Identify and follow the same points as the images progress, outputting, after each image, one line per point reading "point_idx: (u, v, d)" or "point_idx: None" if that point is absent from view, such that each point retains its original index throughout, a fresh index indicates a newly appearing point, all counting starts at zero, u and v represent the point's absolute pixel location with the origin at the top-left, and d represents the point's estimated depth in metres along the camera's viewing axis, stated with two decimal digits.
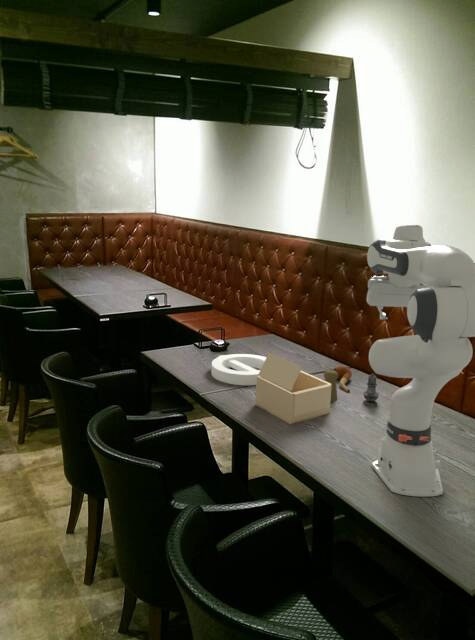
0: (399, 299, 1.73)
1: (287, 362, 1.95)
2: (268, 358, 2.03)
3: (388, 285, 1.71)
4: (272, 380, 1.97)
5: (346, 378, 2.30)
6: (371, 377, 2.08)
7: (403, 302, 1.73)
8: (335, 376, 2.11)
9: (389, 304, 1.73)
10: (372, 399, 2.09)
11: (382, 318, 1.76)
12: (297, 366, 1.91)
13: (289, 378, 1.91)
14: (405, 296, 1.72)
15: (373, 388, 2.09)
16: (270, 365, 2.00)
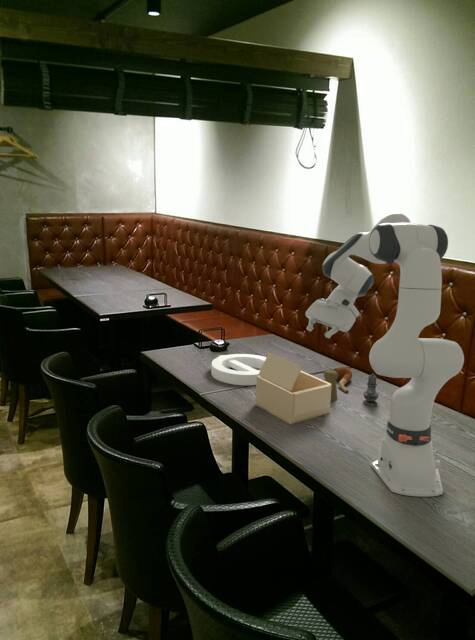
0: (324, 314, 2.03)
1: (287, 362, 1.95)
2: (268, 358, 2.03)
3: (324, 303, 2.07)
4: (272, 380, 1.97)
5: (346, 379, 2.29)
6: (371, 377, 2.08)
7: (326, 317, 2.02)
8: (335, 376, 2.11)
9: (316, 316, 2.05)
10: (372, 399, 2.09)
11: (307, 327, 2.05)
12: (297, 366, 1.91)
13: (289, 378, 1.91)
14: (329, 313, 2.02)
15: (373, 388, 2.09)
16: (270, 365, 2.00)
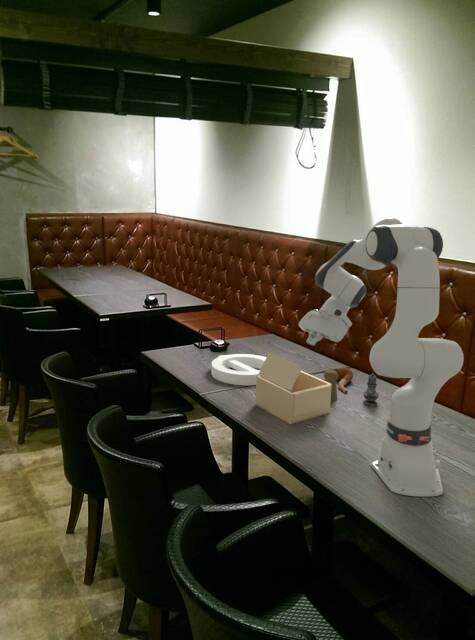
0: (317, 324, 2.03)
1: (287, 362, 1.95)
2: (268, 358, 2.03)
3: (317, 313, 2.07)
4: (272, 380, 1.97)
5: (346, 379, 2.28)
6: (371, 377, 2.08)
7: (318, 327, 2.02)
8: (335, 376, 2.11)
9: (309, 326, 2.05)
10: (372, 399, 2.09)
11: (307, 340, 2.02)
12: (297, 366, 1.91)
13: (289, 378, 1.91)
14: (322, 324, 2.02)
15: (373, 388, 2.09)
16: (270, 365, 2.00)
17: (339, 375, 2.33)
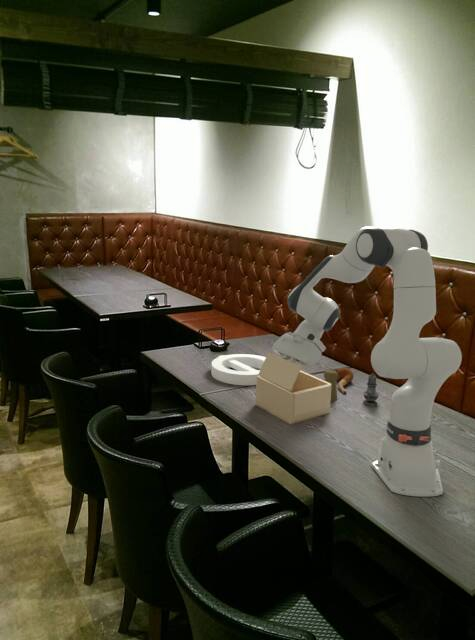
0: (290, 348, 1.98)
1: (287, 362, 1.95)
2: (267, 357, 2.03)
3: (291, 337, 2.02)
4: (272, 380, 1.97)
5: (346, 380, 2.28)
6: (371, 377, 2.08)
7: (291, 352, 1.97)
8: (335, 376, 2.11)
9: (282, 350, 2.00)
10: (372, 399, 2.09)
11: None
12: (296, 366, 1.91)
13: (289, 378, 1.91)
14: (295, 348, 1.97)
15: (373, 388, 2.09)
16: (270, 364, 2.00)
17: (339, 375, 2.32)
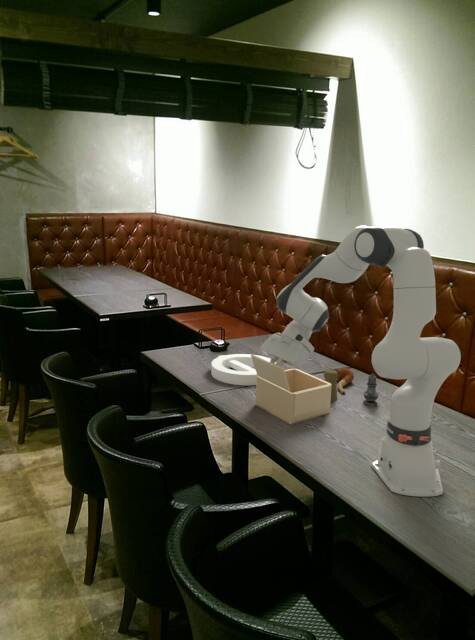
0: (278, 349, 1.95)
1: (270, 365, 1.91)
2: (253, 360, 1.99)
3: (279, 337, 1.99)
4: (271, 381, 1.96)
5: (345, 380, 2.27)
6: (371, 377, 2.08)
7: (279, 352, 1.94)
8: (335, 376, 2.11)
9: (271, 351, 1.97)
10: (372, 399, 2.09)
11: None
12: (279, 369, 1.86)
13: (281, 380, 1.89)
14: (283, 349, 1.94)
15: (373, 388, 2.09)
16: (260, 367, 1.98)
17: (339, 376, 2.32)
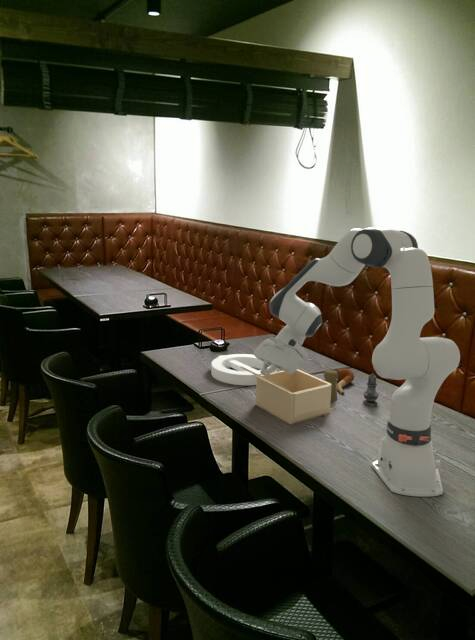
0: (271, 354, 1.94)
1: (260, 377, 1.89)
2: None
3: (272, 342, 1.98)
4: None
5: (345, 380, 2.27)
6: (371, 377, 2.08)
7: (272, 357, 1.92)
8: (335, 376, 2.11)
9: (263, 356, 1.96)
10: (372, 399, 2.09)
11: (261, 371, 1.93)
12: None
13: None
14: (276, 354, 1.92)
15: (373, 388, 2.09)
16: None
17: (339, 376, 2.31)
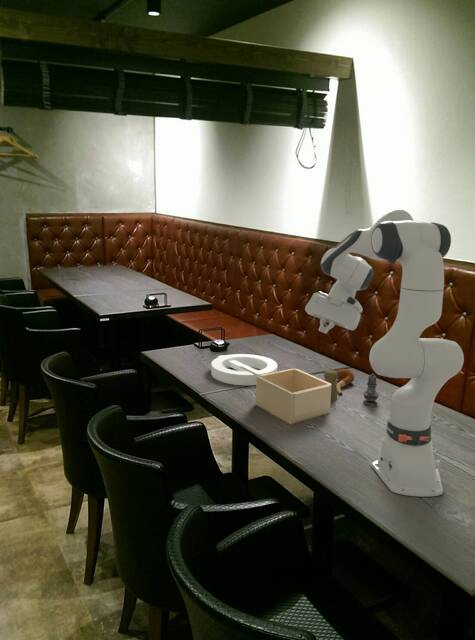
0: (328, 311, 2.01)
1: (260, 377, 1.89)
2: None
3: (324, 298, 2.04)
4: None
5: (344, 381, 2.26)
6: (371, 377, 2.08)
7: (330, 315, 2.00)
8: (335, 376, 2.11)
9: (319, 313, 2.02)
10: (372, 399, 2.09)
11: (320, 329, 2.01)
12: None
13: None
14: (334, 311, 2.00)
15: (373, 388, 2.09)
16: None
17: (339, 377, 2.31)
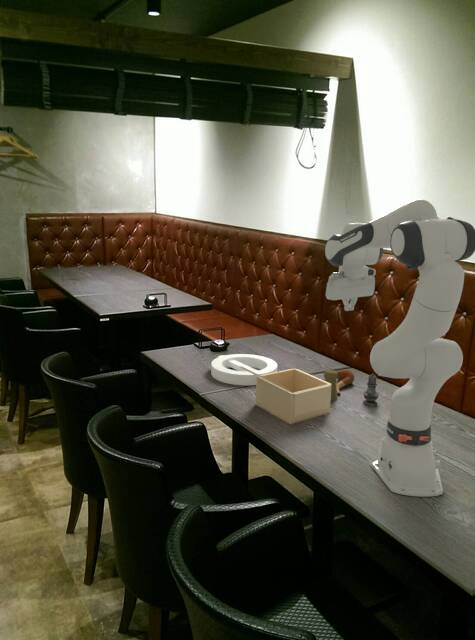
0: (352, 291, 1.92)
1: (260, 377, 1.89)
2: None
3: (345, 279, 1.89)
4: None
5: (344, 382, 2.25)
6: (371, 377, 2.08)
7: (355, 293, 1.93)
8: (335, 376, 2.11)
9: (346, 296, 1.91)
10: (372, 399, 2.09)
11: (349, 309, 1.94)
12: None
13: None
14: (356, 288, 1.93)
15: (373, 388, 2.09)
16: None
17: (339, 377, 2.30)
